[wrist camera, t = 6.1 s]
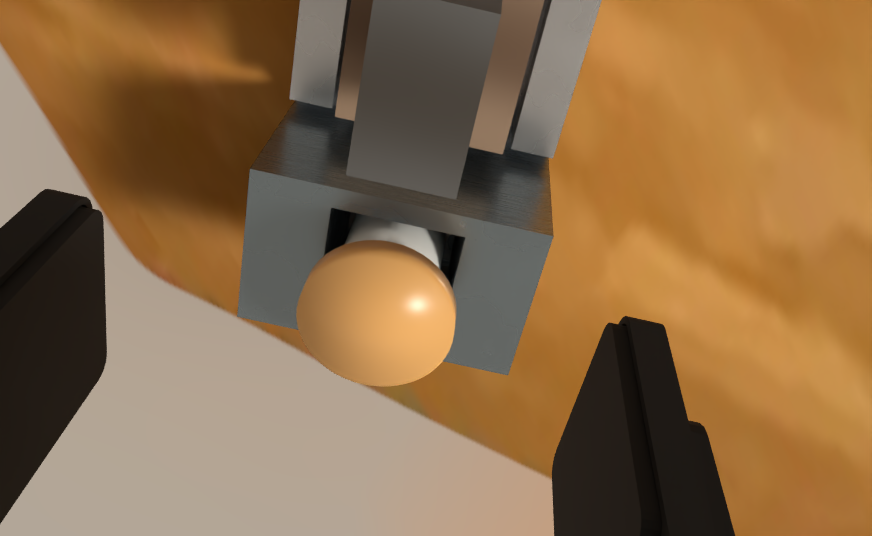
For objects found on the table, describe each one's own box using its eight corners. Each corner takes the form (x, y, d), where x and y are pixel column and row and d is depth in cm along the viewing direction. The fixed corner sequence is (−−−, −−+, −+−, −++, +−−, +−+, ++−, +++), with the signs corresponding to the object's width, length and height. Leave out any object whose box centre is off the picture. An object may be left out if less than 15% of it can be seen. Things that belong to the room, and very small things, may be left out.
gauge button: (353, 135, 31) (305, 241, 24) (481, 164, 31) (469, 277, 24) (335, 245, 34) (288, 368, 27) (454, 271, 34) (436, 400, 27)
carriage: (384, -144, 26) (320, -98, 18) (563, -102, 27) (582, -37, 18) (350, 87, 31) (285, 211, 22) (504, 122, 31) (497, 258, 23)
